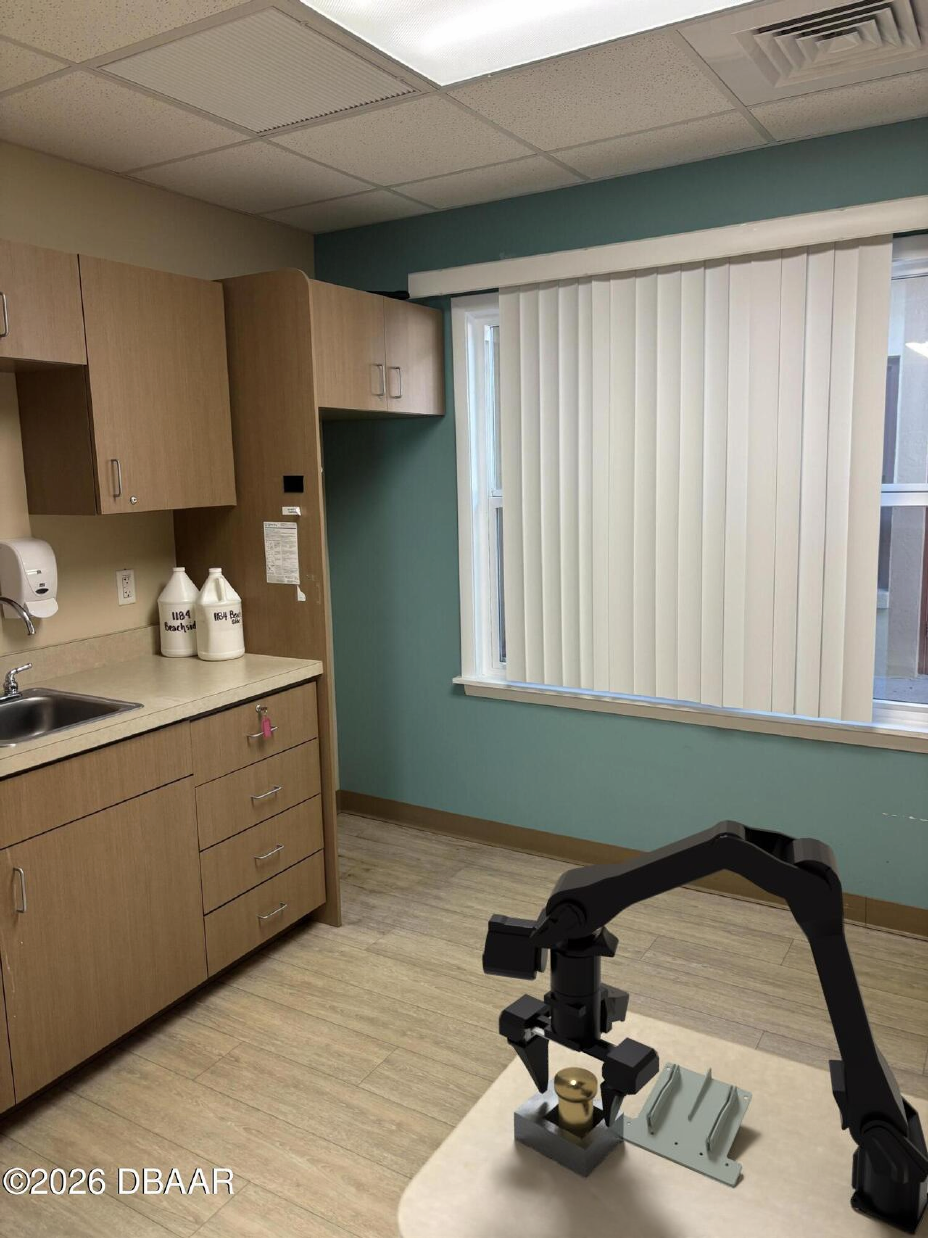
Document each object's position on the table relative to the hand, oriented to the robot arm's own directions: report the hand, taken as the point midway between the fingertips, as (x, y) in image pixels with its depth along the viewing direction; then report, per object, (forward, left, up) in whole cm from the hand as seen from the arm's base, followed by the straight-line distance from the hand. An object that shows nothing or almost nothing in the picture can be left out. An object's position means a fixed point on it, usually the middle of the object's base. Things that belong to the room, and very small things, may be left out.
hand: (576, 1108), depth 110 cm
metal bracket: (-9, -11, -5) cm, 15 cm away
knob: (0, 0, -4) cm, 4 cm away
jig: (0, 0, -4) cm, 4 cm away
